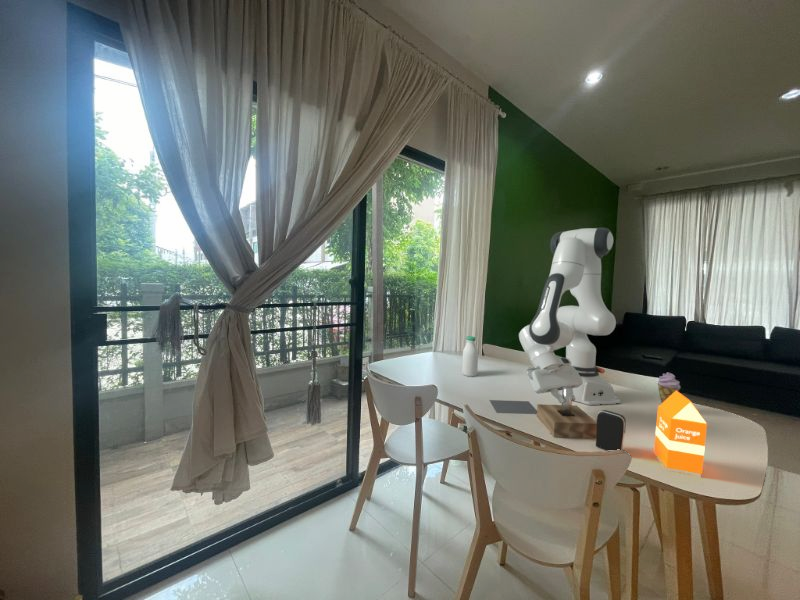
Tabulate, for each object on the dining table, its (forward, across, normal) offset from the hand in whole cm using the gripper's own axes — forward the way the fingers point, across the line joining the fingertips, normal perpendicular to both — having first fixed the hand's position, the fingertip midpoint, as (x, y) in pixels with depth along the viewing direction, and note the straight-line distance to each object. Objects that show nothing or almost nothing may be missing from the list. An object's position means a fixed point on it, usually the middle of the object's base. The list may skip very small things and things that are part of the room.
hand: (568, 401), depth 108 cm
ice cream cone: (+9, +50, +4) cm, 51 cm away
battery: (+17, +1, -3) cm, 17 cm away
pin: (+3, 0, +4) cm, 5 cm away
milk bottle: (-36, +2, +49) cm, 61 cm away
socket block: (+6, 0, +7) cm, 9 cm away
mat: (-7, -6, +21) cm, 23 cm away
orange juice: (+25, +11, -12) cm, 30 cm away
